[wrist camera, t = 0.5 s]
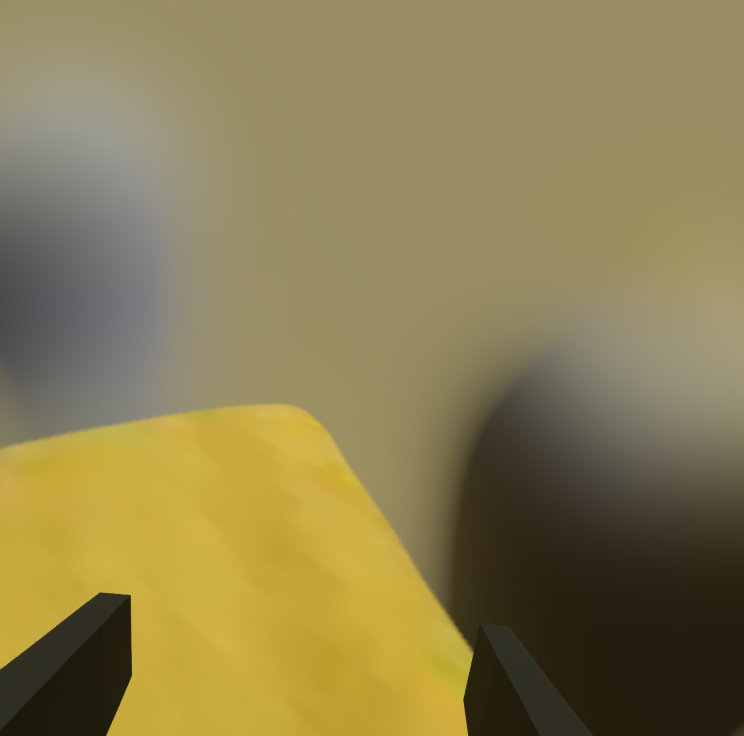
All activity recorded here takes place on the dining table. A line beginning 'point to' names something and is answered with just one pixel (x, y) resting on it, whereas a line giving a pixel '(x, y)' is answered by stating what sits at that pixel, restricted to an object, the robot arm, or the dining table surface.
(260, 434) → the dining table surface
